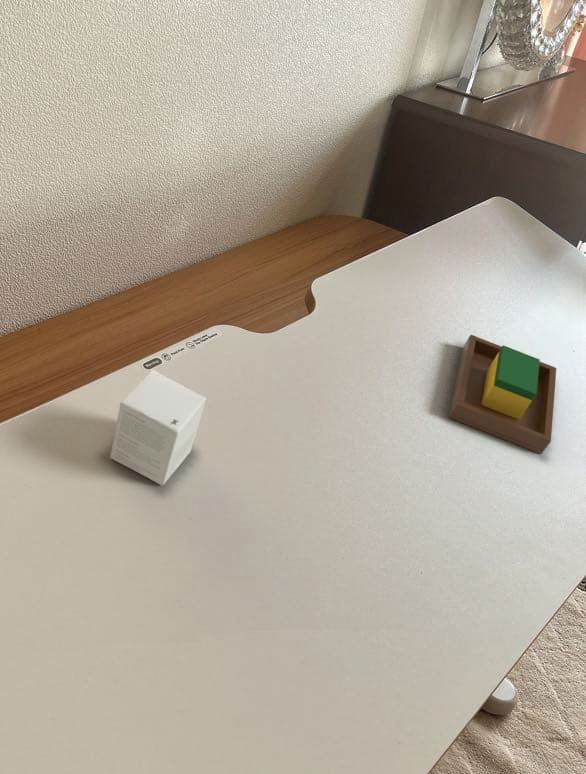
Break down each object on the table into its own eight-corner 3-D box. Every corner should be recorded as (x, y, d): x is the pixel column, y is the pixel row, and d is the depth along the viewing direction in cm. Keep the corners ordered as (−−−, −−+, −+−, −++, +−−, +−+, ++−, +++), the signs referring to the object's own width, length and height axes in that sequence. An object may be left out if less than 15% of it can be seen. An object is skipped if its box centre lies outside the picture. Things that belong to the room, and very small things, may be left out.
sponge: (486, 370, 106) (502, 344, 103) (522, 385, 106) (540, 359, 103) (480, 405, 102) (497, 378, 99) (518, 419, 102) (536, 394, 99)
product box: (191, 452, 88) (209, 397, 82) (162, 488, 84) (178, 433, 78) (138, 424, 89) (152, 367, 83) (107, 457, 85) (119, 401, 79)
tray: (462, 347, 110) (470, 334, 108) (547, 380, 109) (556, 367, 107) (448, 417, 100) (456, 404, 98) (541, 454, 99) (551, 441, 98)
